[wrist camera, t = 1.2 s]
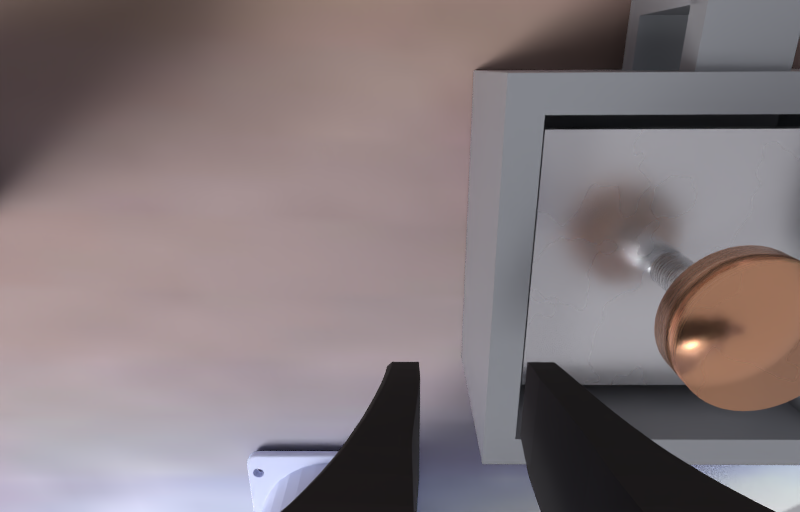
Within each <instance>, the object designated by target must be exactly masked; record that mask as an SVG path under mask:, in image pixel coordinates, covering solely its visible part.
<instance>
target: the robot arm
mask: <svg viewBox="0 0 800 512" xmlns="http://www.w3.org/2000/svg"><path fill="white" fill-rule="evenodd" d="M419 429H420V371H419V362H392V363H391V364H389V365H388V366H387V369H386V373H385V375H384V378H383V380H382V383H381V385H380V387H379V389H378V391H377V393H376V395H375V397H374V398H373V400H372V402H371V404H370V405H369V407H368V409H367V411H366V412H365V414H364V416H363V417H362V419H361V420H360V422H359V423H358V425H357V426H356V428H355V429H354V431H353V432H352V434H351V435H350V436H349V438H348V439H347V441H346V442H345V443H344V445H343V446H342V447H341V449H340V450H339V451H256V452H253V453H251V455H250V456H249V458H248V461H247V466H248V474H249V481H250V488H251V495H252V503H253V510H254V512H416V511H417V497H418V483H419ZM520 437H521V442H522V447H523V451H524V456H525V461H526V465H527V470H528V474H529V478H530V481H531V484H532V487H533V490H534V493H535V496H536V499H537V502H538V505H539V507H540V510H541V512H775V511H773V510H771V509H769V508H767V507H765V506H763V505H761V504H759V503H757V502H755V501H753V500H751V499H749V498H747V497H745V496H744V495H742V494H740V493H738V492H736V491H734V490H732V489H730V488H728V487H727V486H725V485H723V484H721V483H719V482H718V481H716V480H714V479H712V478H711V477H709V476H707V475H705V474H704V473H702V472H700V471H699V470H697V469H695V468H694V467H692V466H691V465H689V464H687V463H686V462H684V461H683V460H681V459H679V458H678V457H676V456H675V455H673V454H671V453H670V452H668V451H667V450H665V449H664V448H662V447H661V446H659V445H658V444H656V443H655V442H654V441H652V440H651V439H650V438H648V437H647V436H645V435H644V434H643V433H641V432H640V431H638V430H637V429H636V428H634V427H633V426H632V425H630V424H629V423H628V422H626V421H625V420H624V419H622V418H621V417H620V416H619V415H617V414H616V413H615V412H614V411H612V410H611V409H610V408H609V407H607V406H606V405H605V404H604V403H602V402H601V401H600V400H599V399H598V398H596V397H595V396H594V395H593V394H592V393H590V392H589V391H588V390H587V389H586V388H585V387H583V386H582V385H581V384H580V383H579V382H577V381H576V380H575V379H574V378H573V377H572V376H570V375H569V374H568V373H567V372H566V371H565V370H563V369H562V368H561V367H560V366H558V365H557V364H556V363H555V362H527V370H526V381H525V391H524V402H523V412H522V423H521V433H520ZM257 469H261V470H263V471H258V470H257Z"/></svg>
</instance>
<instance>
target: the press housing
mask: <svg viewBox="0 0 800 512" xmlns="http://www.w3.org/2000/svg"><path fill="white" fill-rule="evenodd" d="M799 36H800V0H632V1H631V9H630V16H629V23H628V30H627V37H626V45H625V52H624V59H623V66H622V70H474V76H473V99H472V122H471V145H470V168H469V192H468V215H467V238H466V261H465V284H464V307H463V331H462V354H461V358H462V363H463V368H464V373H465V379H466V384H467V389H468V394H469V399H470V404H471V409H472V415H473V420H474V425H475V430H476V435H477V440H478V445H479V450H480V456H481V461H482V464H526V461H525V456H524V451H523V447H522V442H521V437H520V433H521V423H522V412H523V402H524V391H525V385H521V371H522V360H523V349H524V338H525V327H526V316H527V306H528V295H529V284H530V273H531V262H532V251H533V240H534V229H535V218H536V207H537V196H538V185H539V175H540V164H541V153H542V142H543V131H544V127H760V126H800V69H792V65H793V60H794V56H795V52H796V48H797V44H798V40H799ZM582 386H583V387H585V388H586V389H587V390H588V391H589V392H590V393H592V394H593V395H594V396H595V397H596V398H598V399H599V400H600V401H601V402H602V403H604V404H605V405H606V406H607V407H609V408H610V409H611V410H612V411H614V412H615V413H616V414H617V415H619V416H620V417H621V418H622V419H624V420H625V421H626V422H628V423H629V424H630V425H632V426H633V427H634V428H636V429H637V430H638V431H640V432H641V433H643V434H644V435H645V436H647V437H648V438H650V439H651V440H652V441H654V442H655V443H656V444H658V445H659V446H661V447H662V448H664V449H665V450H667V451H668V452H670V453H671V454H673V455H675V456H676V457H678V458H679V459H681V460H683V461H684V462H686V463H687V464H689V465H800V396H798V397H797V398H794V399H792V400H790V401H788V402H786V403H783V404H780V405H778V406H774V407H771V408H767V409H761V410H755V411H733V410H727V409H722V408H719V407H716V406H713V405H711V404H709V403H706V402H705V401H703V400H702V399H700V398H699V397H697V396H696V395H695V394H694V393H693V392H692V391H691V390H690V389H689V388H688V387H687V386H686V385H582Z"/></svg>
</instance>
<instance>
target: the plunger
mask: <svg viewBox="0 0 800 512" xmlns="http://www.w3.org/2000/svg"><path fill="white" fill-rule="evenodd" d="M527 362H555V363H556V364H557V365H558V366H560V367H561V368H562V369H563V370H565V371H566V372H567V373H568V374H569V375H570V376H572V377H573V378H574V379H575V380H576V381H577V382H579V383H580V384H581V385H686V386H687V387H688V388H689V389H690V390H691V391H692V392H693V393H694V394H695V395H696V396H697V397H699V398H700V399H702V400H703V401H705V402H706V403H709V404H711V405H713V406H716V407H719V408H722V409H727V410H733V411H755V410H761V409H767V408H771V407H774V406H778V405H780V404H783V403H786V402H788V401H790V400H792V399H794V398H797V397H798V396H800V126H760V127H544V131H543V142H542V153H541V164H540V175H539V185H538V196H537V207H536V218H535V229H534V240H533V251H532V262H531V273H530V284H529V295H528V306H527V316H526V327H525V338H524V349H523V360H522V371H521V385H525V381H526V370H527Z"/></svg>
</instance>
